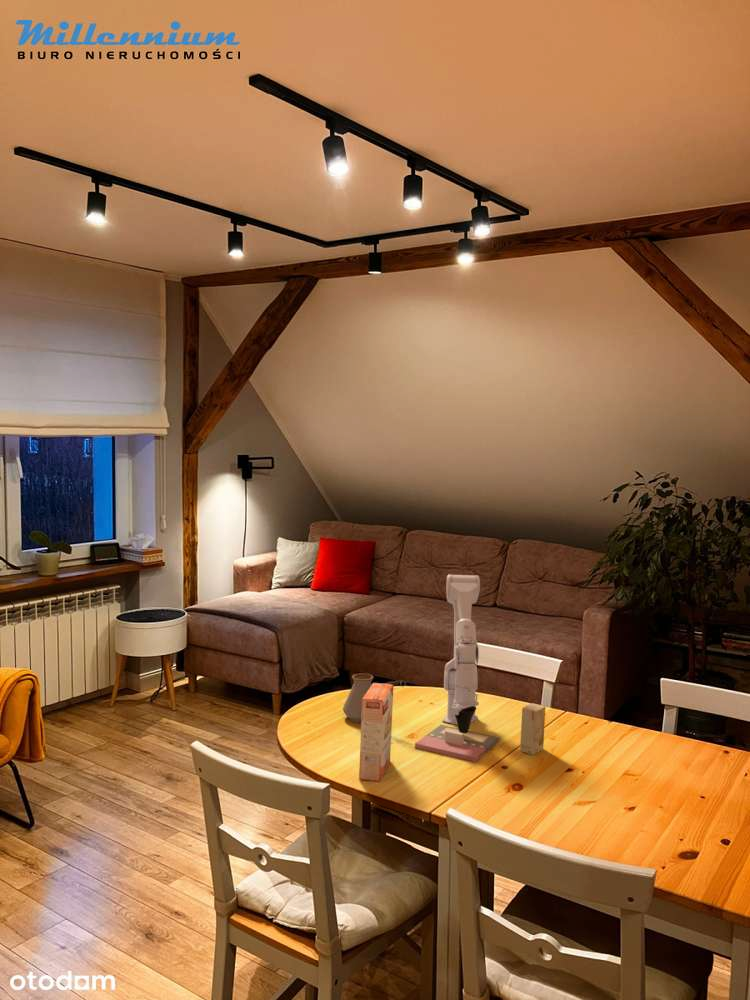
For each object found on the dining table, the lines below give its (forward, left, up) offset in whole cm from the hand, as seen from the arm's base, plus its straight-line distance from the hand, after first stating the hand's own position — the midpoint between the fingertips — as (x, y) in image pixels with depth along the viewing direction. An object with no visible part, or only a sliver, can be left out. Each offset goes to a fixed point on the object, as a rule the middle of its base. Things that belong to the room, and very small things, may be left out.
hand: (463, 732), depth 232 cm
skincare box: (-4, +19, -2) cm, 19 cm away
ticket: (0, 0, -2) cm, 2 cm away
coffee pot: (+1, -28, -2) cm, 28 cm away
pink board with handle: (+9, 0, -2) cm, 10 cm away
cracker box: (+31, -11, -2) cm, 33 cm away
